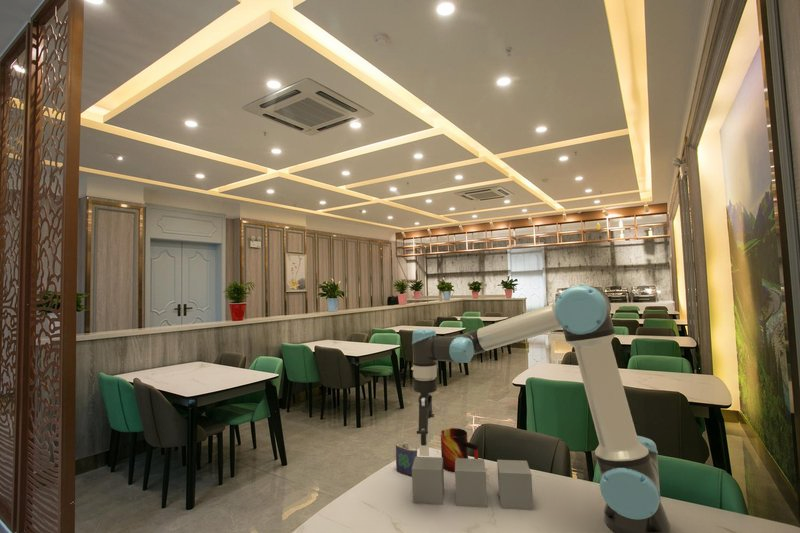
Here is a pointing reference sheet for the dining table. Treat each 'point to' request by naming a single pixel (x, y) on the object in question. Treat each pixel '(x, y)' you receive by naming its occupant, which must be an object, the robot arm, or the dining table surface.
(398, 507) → the dining table surface
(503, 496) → the pale grey cube
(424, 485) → the large plain grey block
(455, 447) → the mug
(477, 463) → the pale gray cube
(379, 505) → the dining table surface
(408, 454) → the flask
